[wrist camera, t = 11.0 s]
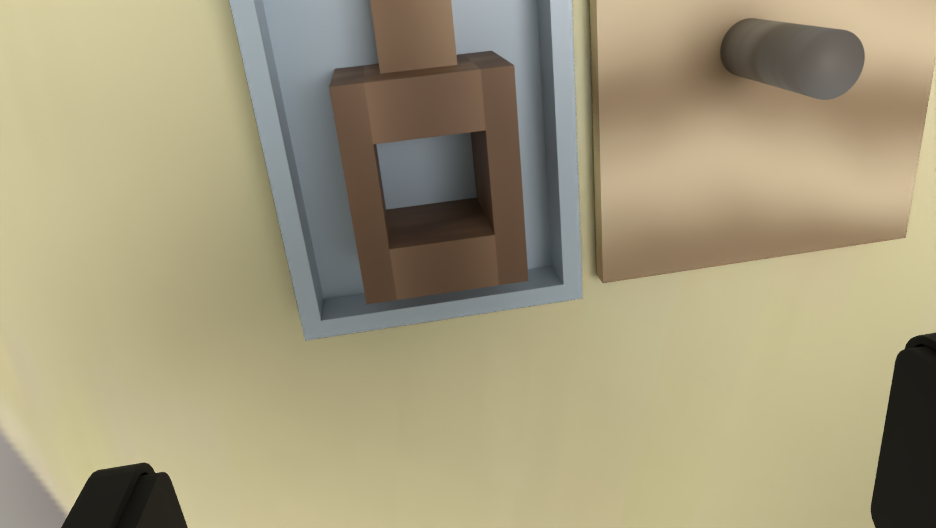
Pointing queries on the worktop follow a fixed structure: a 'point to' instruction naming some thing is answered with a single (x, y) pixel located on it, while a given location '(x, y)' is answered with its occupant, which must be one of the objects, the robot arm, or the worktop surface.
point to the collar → (422, 116)
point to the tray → (408, 153)
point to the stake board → (753, 127)
